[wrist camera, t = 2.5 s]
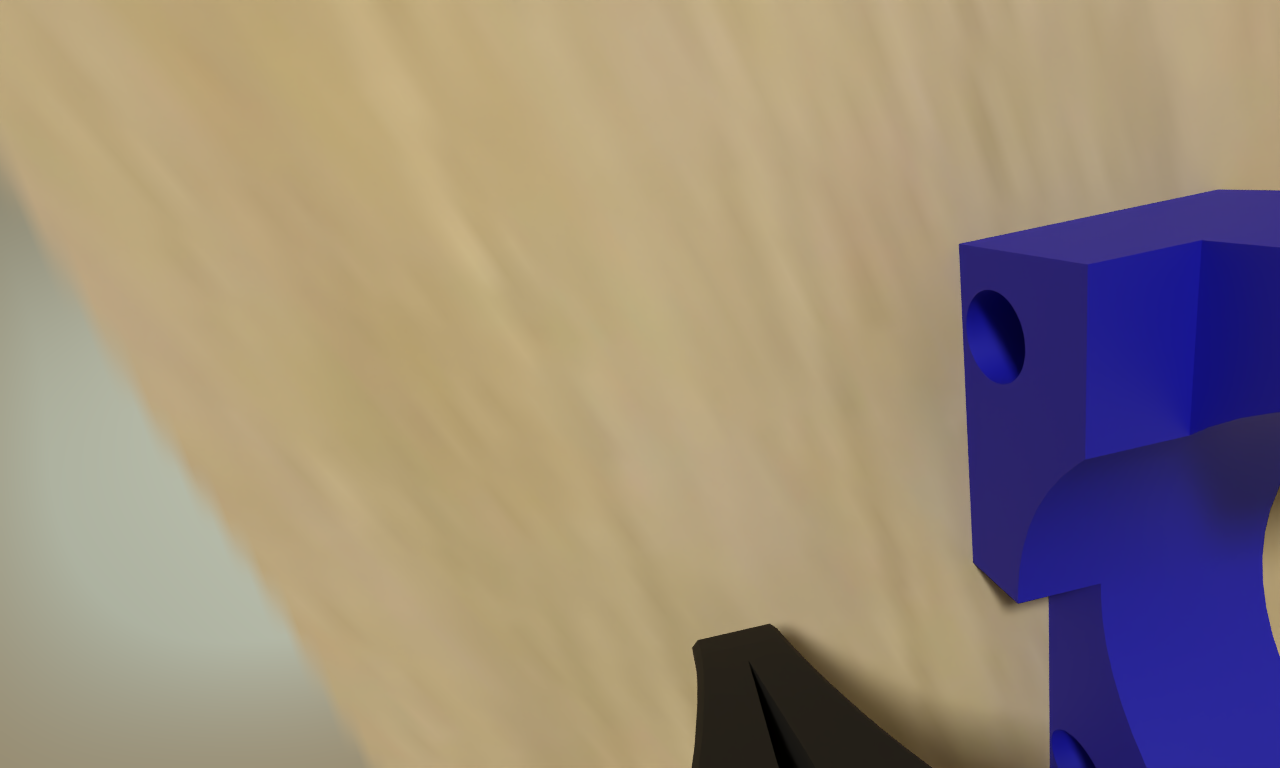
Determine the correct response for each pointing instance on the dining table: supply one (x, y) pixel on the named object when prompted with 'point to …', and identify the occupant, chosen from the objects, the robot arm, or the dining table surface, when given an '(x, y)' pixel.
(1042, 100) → the dining table surface
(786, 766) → the robot arm
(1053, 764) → the blue plastic bracket
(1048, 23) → the dining table surface
